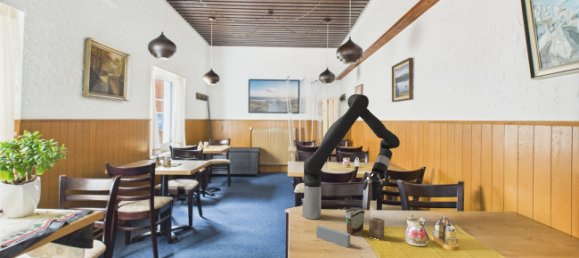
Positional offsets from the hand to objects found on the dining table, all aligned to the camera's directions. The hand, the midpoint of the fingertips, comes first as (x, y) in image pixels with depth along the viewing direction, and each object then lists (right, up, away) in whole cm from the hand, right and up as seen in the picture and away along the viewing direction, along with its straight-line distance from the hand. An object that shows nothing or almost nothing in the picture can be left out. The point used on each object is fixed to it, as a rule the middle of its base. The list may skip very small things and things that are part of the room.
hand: (371, 190), depth 155 cm
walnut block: (-3, -17, -20) cm, 26 cm away
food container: (-13, -17, -13) cm, 25 cm away
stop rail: (-24, -17, -25) cm, 38 cm away
